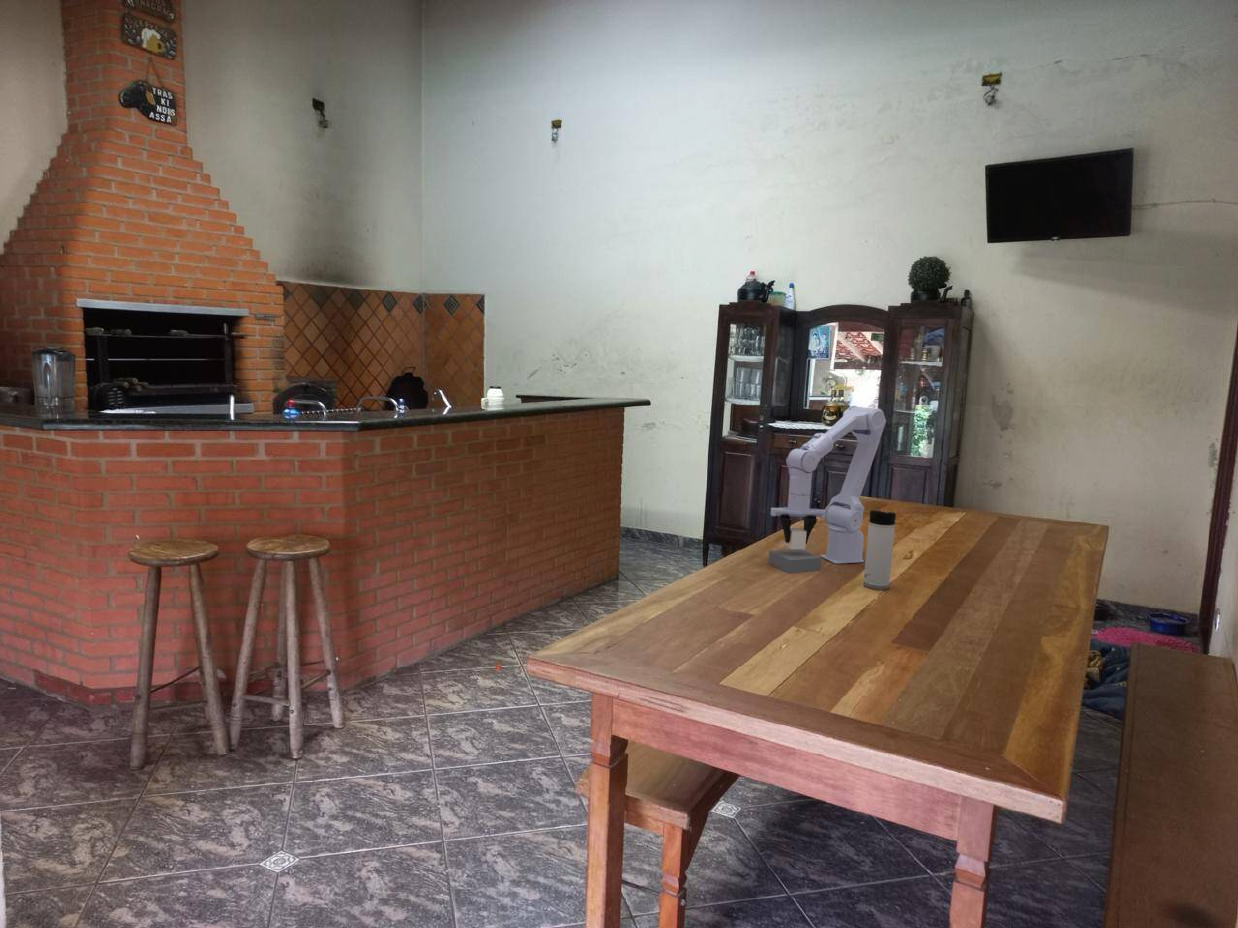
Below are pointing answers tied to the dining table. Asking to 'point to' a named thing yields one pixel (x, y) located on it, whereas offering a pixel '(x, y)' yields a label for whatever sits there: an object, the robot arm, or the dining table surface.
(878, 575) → the travel mug
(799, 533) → the top block
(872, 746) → the dining table surface
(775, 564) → the base block
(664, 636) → the dining table surface
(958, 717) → the dining table surface
